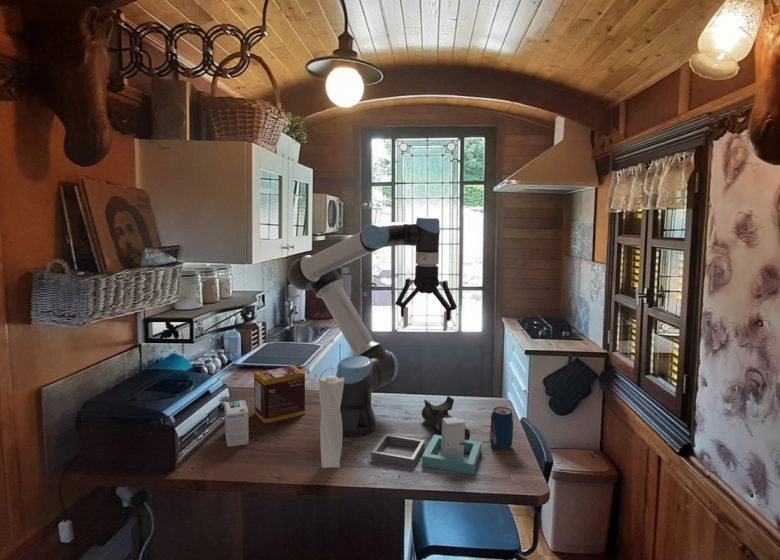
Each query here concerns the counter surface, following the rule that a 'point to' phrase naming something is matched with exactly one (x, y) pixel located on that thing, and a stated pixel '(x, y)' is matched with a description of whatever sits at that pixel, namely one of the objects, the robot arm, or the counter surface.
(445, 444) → the skincare box
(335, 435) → the skyscraper
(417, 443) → the gray picture frame
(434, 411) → the laser sight
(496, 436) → the soda can
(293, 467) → the counter surface
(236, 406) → the light bulb box
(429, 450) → the teal square frame
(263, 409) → the supplement box
